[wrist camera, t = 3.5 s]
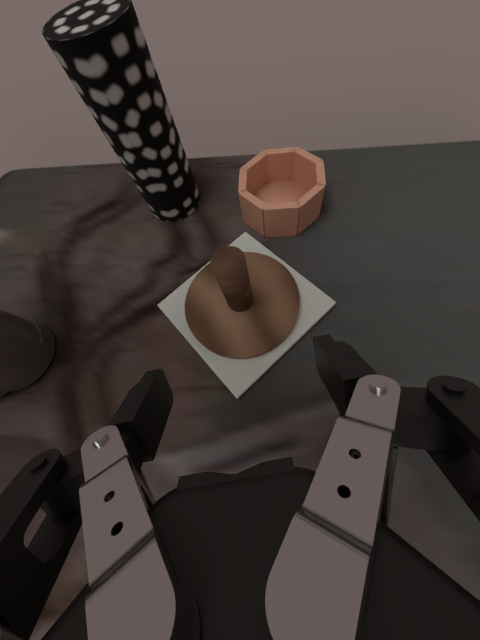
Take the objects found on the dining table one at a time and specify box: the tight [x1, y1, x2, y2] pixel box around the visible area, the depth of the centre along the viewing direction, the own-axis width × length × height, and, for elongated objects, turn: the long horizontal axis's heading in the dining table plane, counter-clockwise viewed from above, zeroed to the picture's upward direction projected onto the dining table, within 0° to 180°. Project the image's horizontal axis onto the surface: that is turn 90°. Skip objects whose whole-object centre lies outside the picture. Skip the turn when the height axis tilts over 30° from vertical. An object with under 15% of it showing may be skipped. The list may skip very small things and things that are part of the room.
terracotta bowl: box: [238, 147, 326, 238], centre depth 33 cm, size 11×11×5 cm
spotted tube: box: [42, 0, 200, 222], centre depth 30 cm, size 8×8×20 cm
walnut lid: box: [185, 246, 300, 359], centre depth 26 cm, size 14×14×9 cm
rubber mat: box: [158, 232, 336, 399], centre depth 30 cm, size 16×16×1 cm
